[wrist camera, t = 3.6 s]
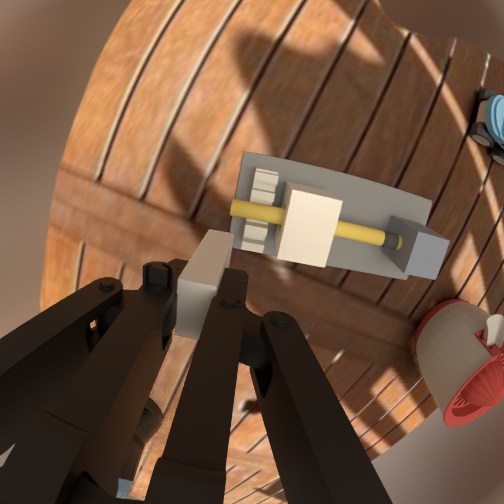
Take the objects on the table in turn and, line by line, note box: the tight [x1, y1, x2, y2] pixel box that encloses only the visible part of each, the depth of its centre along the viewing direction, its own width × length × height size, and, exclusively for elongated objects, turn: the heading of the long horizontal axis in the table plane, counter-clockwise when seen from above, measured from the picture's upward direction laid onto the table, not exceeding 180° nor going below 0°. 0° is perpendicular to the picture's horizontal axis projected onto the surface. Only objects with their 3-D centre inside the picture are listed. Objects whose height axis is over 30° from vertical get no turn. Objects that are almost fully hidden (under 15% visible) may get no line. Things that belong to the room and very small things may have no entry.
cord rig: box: [230, 151, 450, 280], centre depth 31 cm, size 26×12×8 cm, turn 80°
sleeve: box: [274, 181, 343, 267], centre depth 30 cm, size 5×7×7 cm
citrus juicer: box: [415, 299, 504, 426], centre depth 31 cm, size 16×17×20 cm
